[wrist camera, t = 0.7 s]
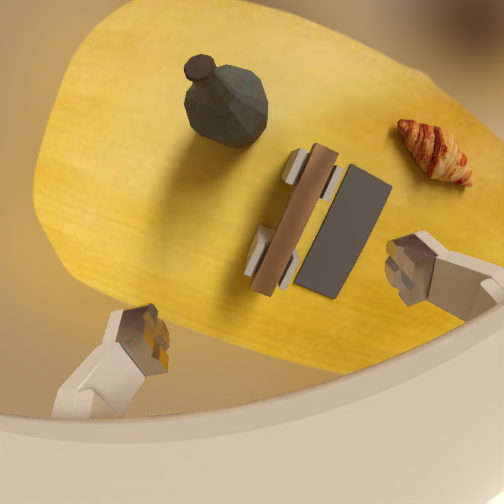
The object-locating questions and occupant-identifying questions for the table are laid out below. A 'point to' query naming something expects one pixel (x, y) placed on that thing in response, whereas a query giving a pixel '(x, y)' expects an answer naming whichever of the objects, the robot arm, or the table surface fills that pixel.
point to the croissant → (436, 152)
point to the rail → (293, 218)
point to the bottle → (225, 102)
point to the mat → (343, 232)
